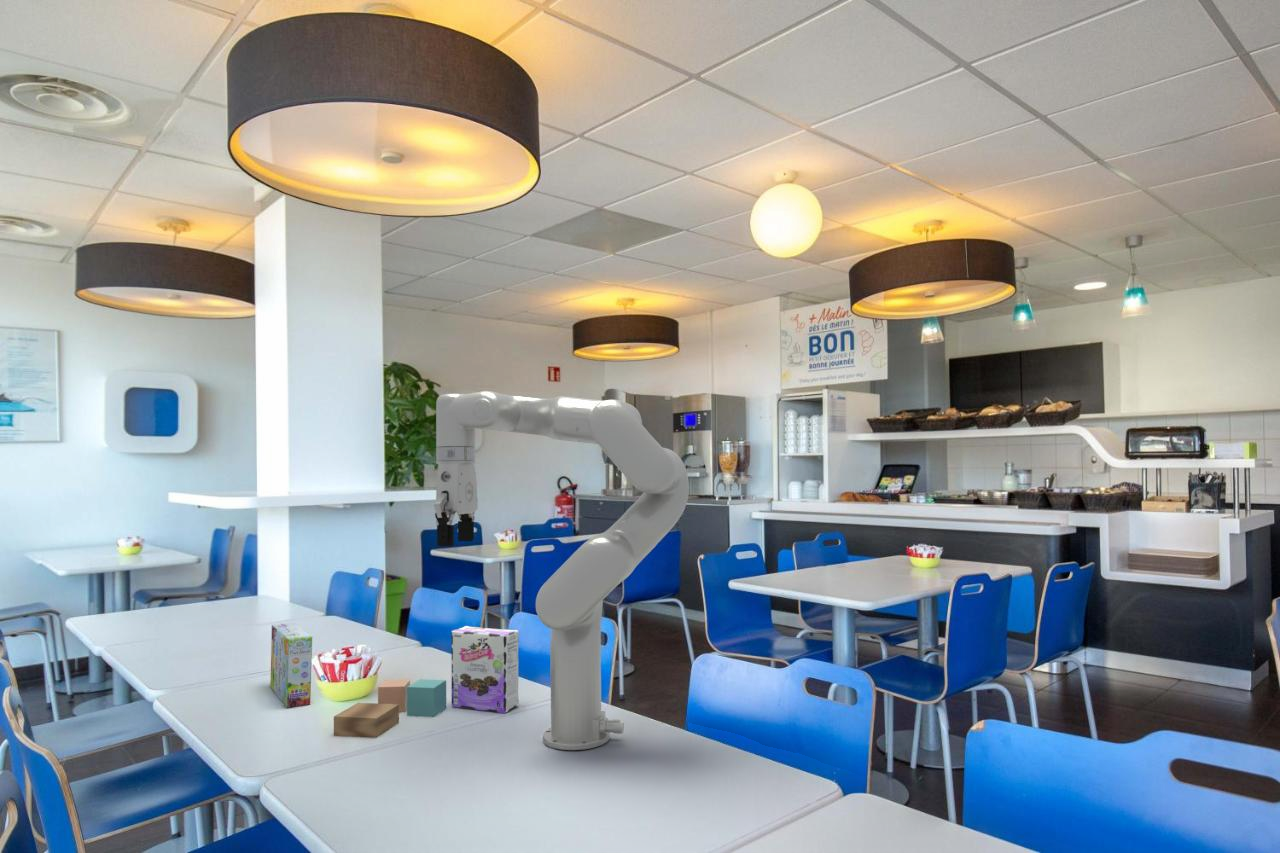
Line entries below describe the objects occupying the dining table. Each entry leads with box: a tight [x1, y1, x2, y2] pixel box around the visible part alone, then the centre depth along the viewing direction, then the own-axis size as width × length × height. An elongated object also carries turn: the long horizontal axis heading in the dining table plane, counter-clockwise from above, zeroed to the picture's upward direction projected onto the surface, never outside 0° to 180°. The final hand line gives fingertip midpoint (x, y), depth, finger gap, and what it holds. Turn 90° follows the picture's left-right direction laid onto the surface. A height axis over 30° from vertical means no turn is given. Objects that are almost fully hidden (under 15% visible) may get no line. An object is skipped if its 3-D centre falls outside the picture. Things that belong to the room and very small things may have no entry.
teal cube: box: [406, 678, 447, 718], centre depth 168 cm, size 6×6×6 cm
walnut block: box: [333, 702, 400, 739], centre depth 157 cm, size 9×9×4 cm
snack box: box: [269, 621, 313, 709], centre depth 182 cm, size 21×6×15 cm, turn 34°
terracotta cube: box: [377, 679, 411, 714], centre depth 170 cm, size 6×6×6 cm
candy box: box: [451, 625, 519, 714], centre depth 171 cm, size 14×6×16 cm, turn 68°
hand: (456, 543), depth 156 cm, fingers open, 9 cm apart
